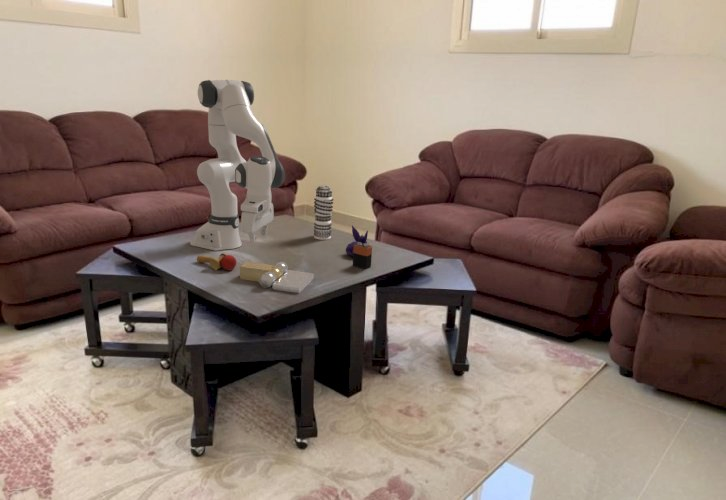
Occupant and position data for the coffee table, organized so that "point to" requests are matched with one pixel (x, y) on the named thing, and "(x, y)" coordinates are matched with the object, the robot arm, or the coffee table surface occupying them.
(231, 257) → the kendama
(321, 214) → the black white tall cylinder
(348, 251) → the creature
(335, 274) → the coffee table surface
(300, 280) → the plate with metal balls
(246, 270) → the gold bar
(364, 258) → the battery
